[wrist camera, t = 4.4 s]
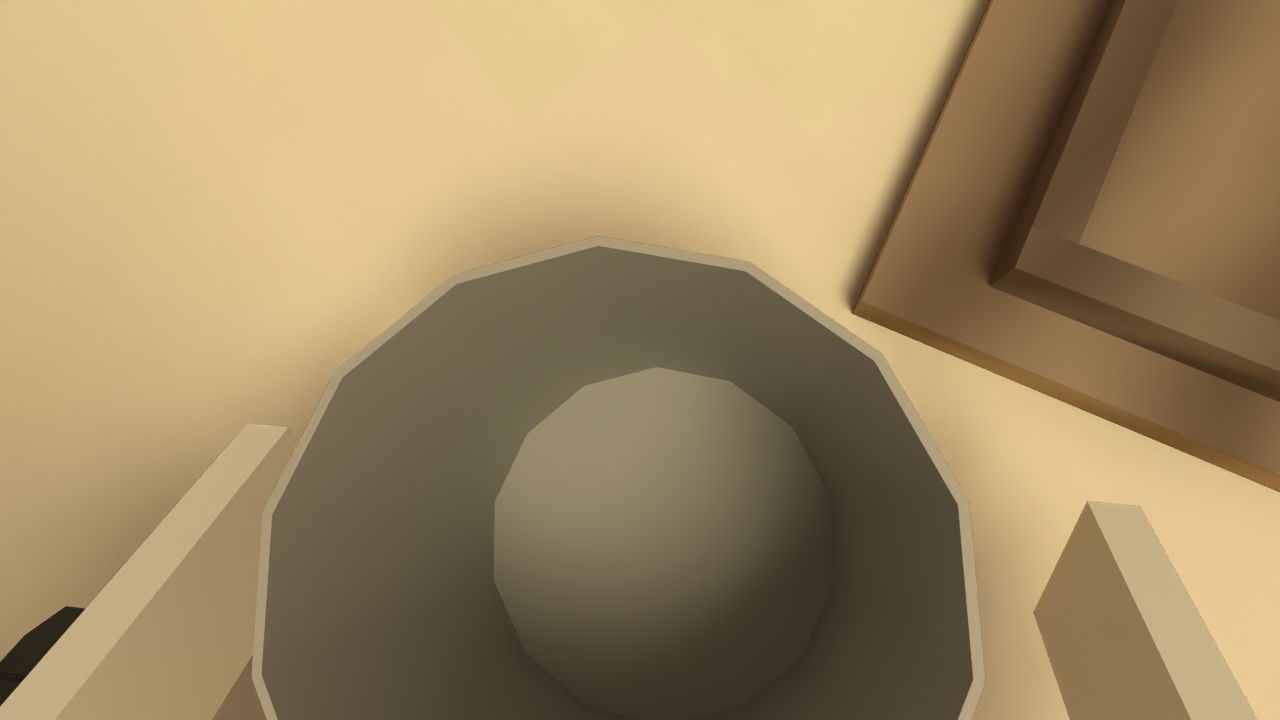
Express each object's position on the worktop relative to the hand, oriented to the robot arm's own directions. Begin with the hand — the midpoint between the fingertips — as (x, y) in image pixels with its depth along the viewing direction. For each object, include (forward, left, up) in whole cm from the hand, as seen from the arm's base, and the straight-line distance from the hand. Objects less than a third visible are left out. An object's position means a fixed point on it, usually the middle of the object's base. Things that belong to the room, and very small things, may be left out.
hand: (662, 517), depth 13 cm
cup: (0, -1, -6) cm, 6 cm away
